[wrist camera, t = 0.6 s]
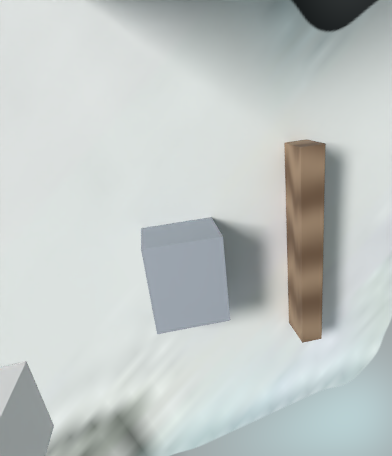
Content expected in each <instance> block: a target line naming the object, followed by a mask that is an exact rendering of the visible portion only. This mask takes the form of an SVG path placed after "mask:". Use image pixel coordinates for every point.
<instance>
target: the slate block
mask: <svg viewBox="0 0 392 456" xmlns="http://www.w3.org/2000/svg"><path fill="white" fill-rule="evenodd" d="M141 251H142V256H143V262H144V267H145V272H146V277H147V283H148V288H149V293H150V298H151V304H152V309H153V314H154V320H155V325H156V330H157V334H161V333H166V332H171V331H176V330H182V329H187V328H192V327H197V326H203V325H208V324H213V323H218V322H224V321H229V320H230V311H229V300H228V288H227V277H226V265H225V254H224V242H223V236H222V234H221V232H220V231H219V229H218V227H217V226H216V224H215V222H214V221H213V219H212V217H210V218H204V219H198V220H191V221H185V222H178V223H172V224H166V225H159V226H153V227H147V228H141Z"/></svg>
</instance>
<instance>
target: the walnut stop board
mask: <svg viewBox="0 0 392 456" xmlns="http://www.w3.org/2000/svg"><path fill="white" fill-rule="evenodd" d="M285 178H286V218H287V257H288V297H289V323H290V325H291V326H292V328H293V329H294V331H295V332H296V334H297V335H298V337H299V338H300V340H301V341H302V343H303V342H308V341H312V340H317V339H321V335H322V285H323V234H324V183H325V144H324V143H320V142H315V141H311V140H300V141H294V142H287V143H285Z"/></svg>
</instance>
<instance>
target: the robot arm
mask: <svg viewBox="0 0 392 456" xmlns="http://www.w3.org/2000/svg"><path fill="white" fill-rule="evenodd" d="M53 427H54V425H53V422H52V420H51V418H50V415H49V413H48V411H47V408H46V406H45V404H44V401H43V399H42V397H41V394H40V392H39V390H38V387H37V385H36V383H35V380H34V378H33V376H32V373H31V371H30V369H29V366H28V364H27V362H26V361H25V362H21V363H16V364H12V365H7V366H3V367H0V456H45V455H46V452H47V448H48V445H49V441H50V438H51V434H52V430H53Z"/></svg>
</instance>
